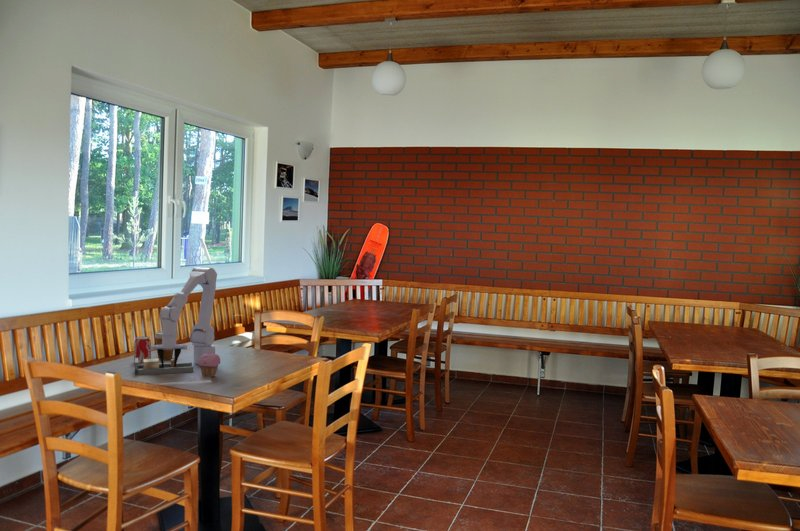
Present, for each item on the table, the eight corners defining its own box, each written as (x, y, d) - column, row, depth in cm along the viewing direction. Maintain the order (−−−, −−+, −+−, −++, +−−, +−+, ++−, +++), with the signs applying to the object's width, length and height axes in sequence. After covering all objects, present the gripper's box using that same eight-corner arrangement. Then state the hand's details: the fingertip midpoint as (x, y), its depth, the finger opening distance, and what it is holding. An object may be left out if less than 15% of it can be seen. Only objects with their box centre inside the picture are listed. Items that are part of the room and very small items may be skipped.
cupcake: (202, 373, 281) (202, 350, 281) (222, 374, 281) (223, 351, 280) (195, 378, 272) (195, 354, 272) (216, 379, 272) (216, 355, 272)
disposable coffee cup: (180, 358, 311) (180, 332, 311) (163, 361, 303) (163, 335, 303) (167, 355, 316) (167, 330, 316) (150, 358, 308) (150, 332, 308)
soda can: (145, 366, 292) (145, 339, 291) (130, 365, 293) (130, 338, 292) (154, 363, 299) (154, 336, 298) (139, 361, 300) (140, 335, 299)
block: (173, 368, 285) (173, 357, 284) (174, 371, 279) (174, 360, 279) (143, 369, 280) (143, 359, 280) (143, 372, 275) (143, 362, 274)
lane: (191, 369, 289) (191, 355, 289) (193, 374, 280) (193, 360, 280) (135, 371, 281) (135, 357, 280) (134, 376, 272) (135, 362, 271)
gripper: (151, 336, 274) (150, 369, 275) (187, 336, 279) (187, 367, 280) (151, 334, 280) (150, 365, 281) (186, 333, 286) (186, 364, 286)
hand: (168, 366), depth 281 cm, fingers closed on block, 4 cm apart
